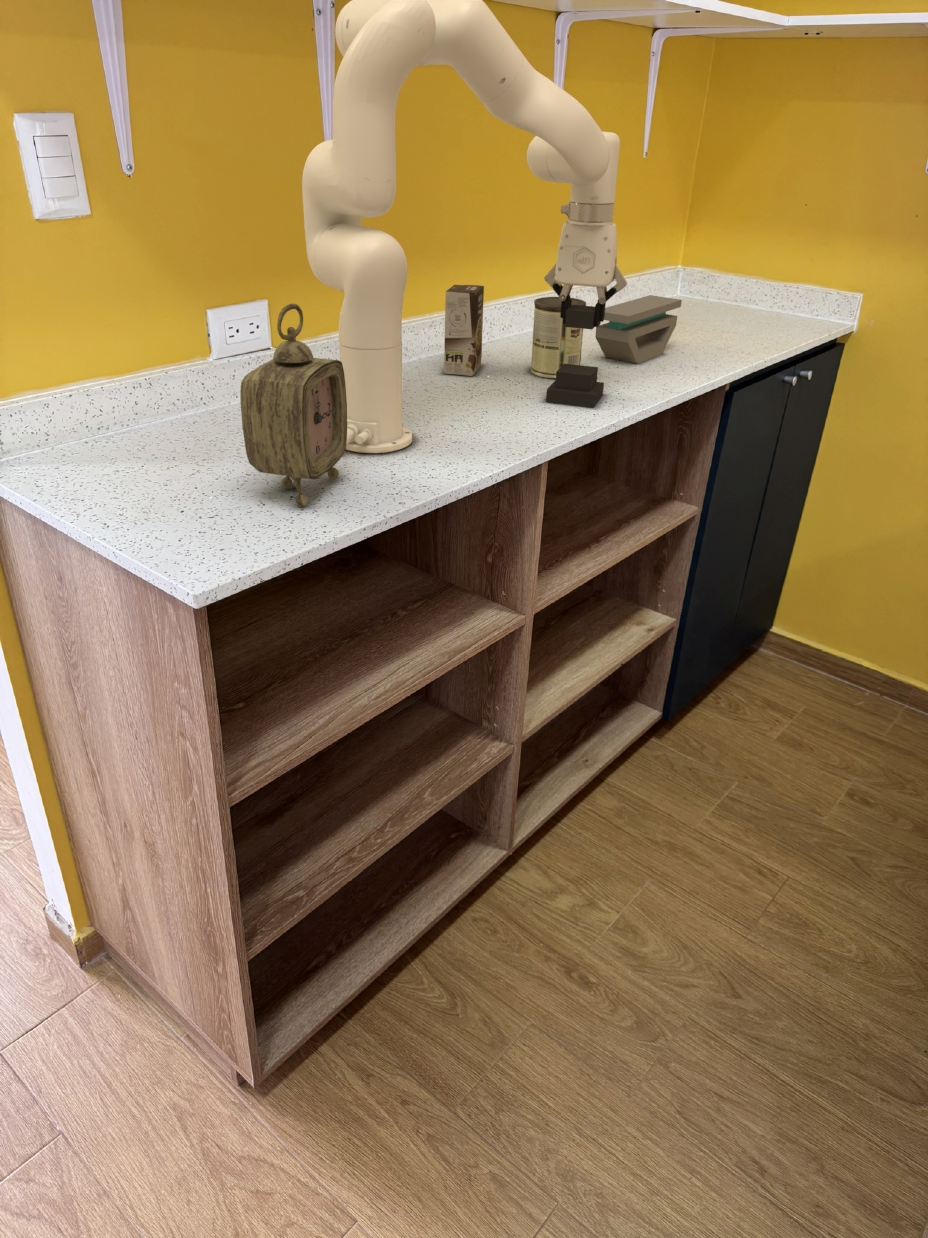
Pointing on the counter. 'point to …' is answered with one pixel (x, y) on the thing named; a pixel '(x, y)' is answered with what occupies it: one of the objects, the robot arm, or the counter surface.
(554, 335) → the coffee can
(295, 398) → the tabletop clock
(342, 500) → the counter surface
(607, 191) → the robot arm
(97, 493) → the counter surface
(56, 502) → the counter surface
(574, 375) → the medium pad
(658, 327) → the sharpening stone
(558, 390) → the large pad
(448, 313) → the coffee box
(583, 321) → the small pad
